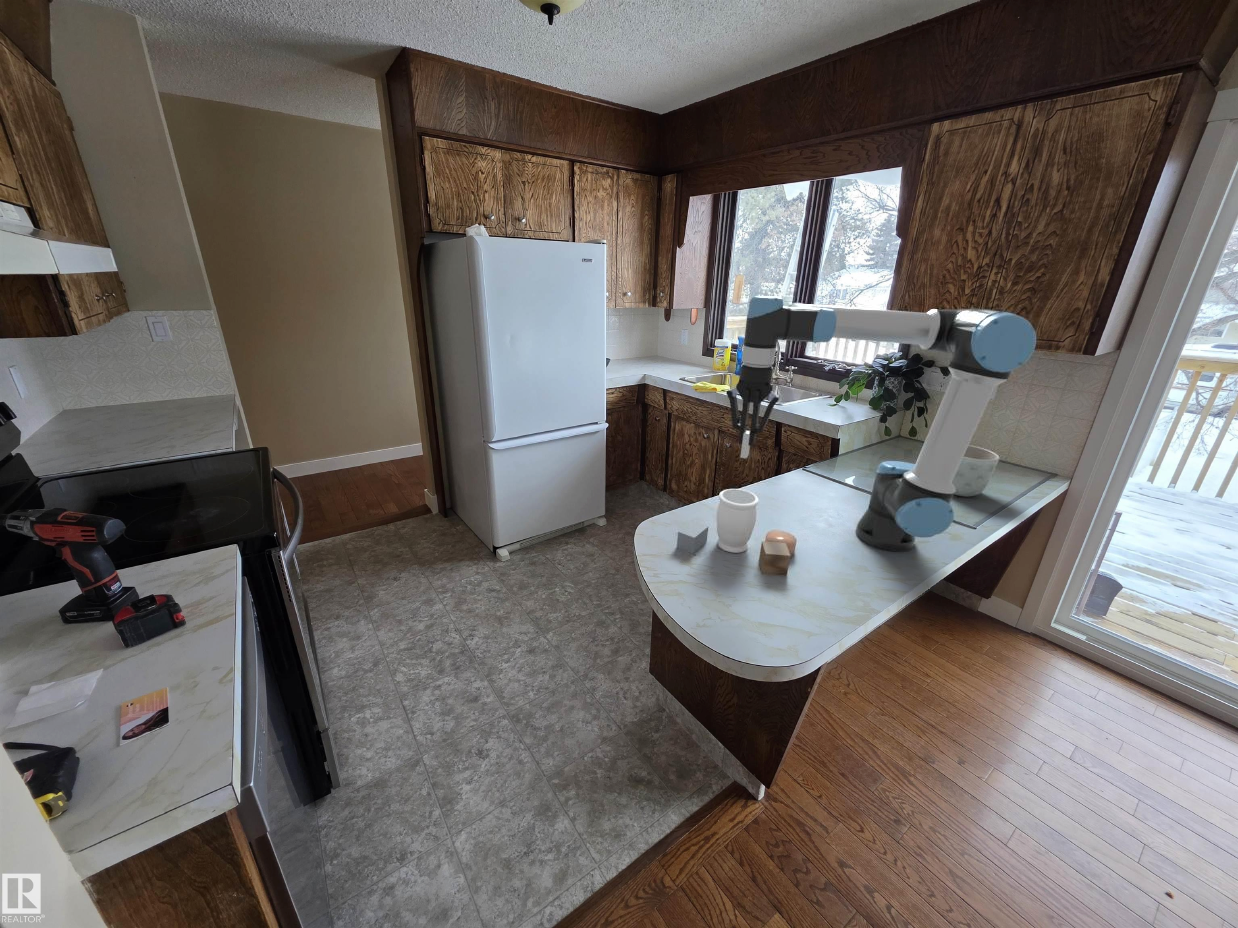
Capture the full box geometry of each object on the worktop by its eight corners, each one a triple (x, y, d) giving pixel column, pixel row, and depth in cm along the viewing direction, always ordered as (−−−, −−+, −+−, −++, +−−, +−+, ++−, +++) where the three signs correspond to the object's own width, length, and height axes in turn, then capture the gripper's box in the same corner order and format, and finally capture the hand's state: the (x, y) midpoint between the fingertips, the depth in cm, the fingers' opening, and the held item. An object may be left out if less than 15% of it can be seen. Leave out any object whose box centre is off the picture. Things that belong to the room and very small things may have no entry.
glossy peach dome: (796, 547, 138) (798, 534, 137) (791, 561, 132) (794, 548, 130) (766, 540, 142) (768, 527, 140) (761, 553, 135) (763, 540, 133)
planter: (977, 506, 167) (991, 464, 161) (922, 489, 179) (934, 449, 173) (991, 493, 178) (1005, 453, 172) (939, 478, 189) (950, 440, 184)
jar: (752, 558, 132) (760, 507, 127) (712, 552, 134) (718, 502, 128) (750, 538, 142) (757, 490, 136) (713, 533, 144) (719, 486, 138)
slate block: (706, 542, 139) (708, 526, 138) (692, 553, 133) (694, 537, 132) (690, 536, 142) (692, 520, 140) (676, 547, 136) (678, 531, 134)
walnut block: (782, 563, 131) (785, 543, 129) (786, 576, 125) (790, 555, 123) (758, 560, 131) (761, 541, 129) (762, 574, 126) (765, 553, 124)
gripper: (787, 365, 120) (772, 456, 129) (734, 359, 125) (723, 447, 134) (782, 370, 114) (767, 466, 122) (726, 363, 119) (715, 456, 128)
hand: (744, 456), depth 128 cm, fingers closed
